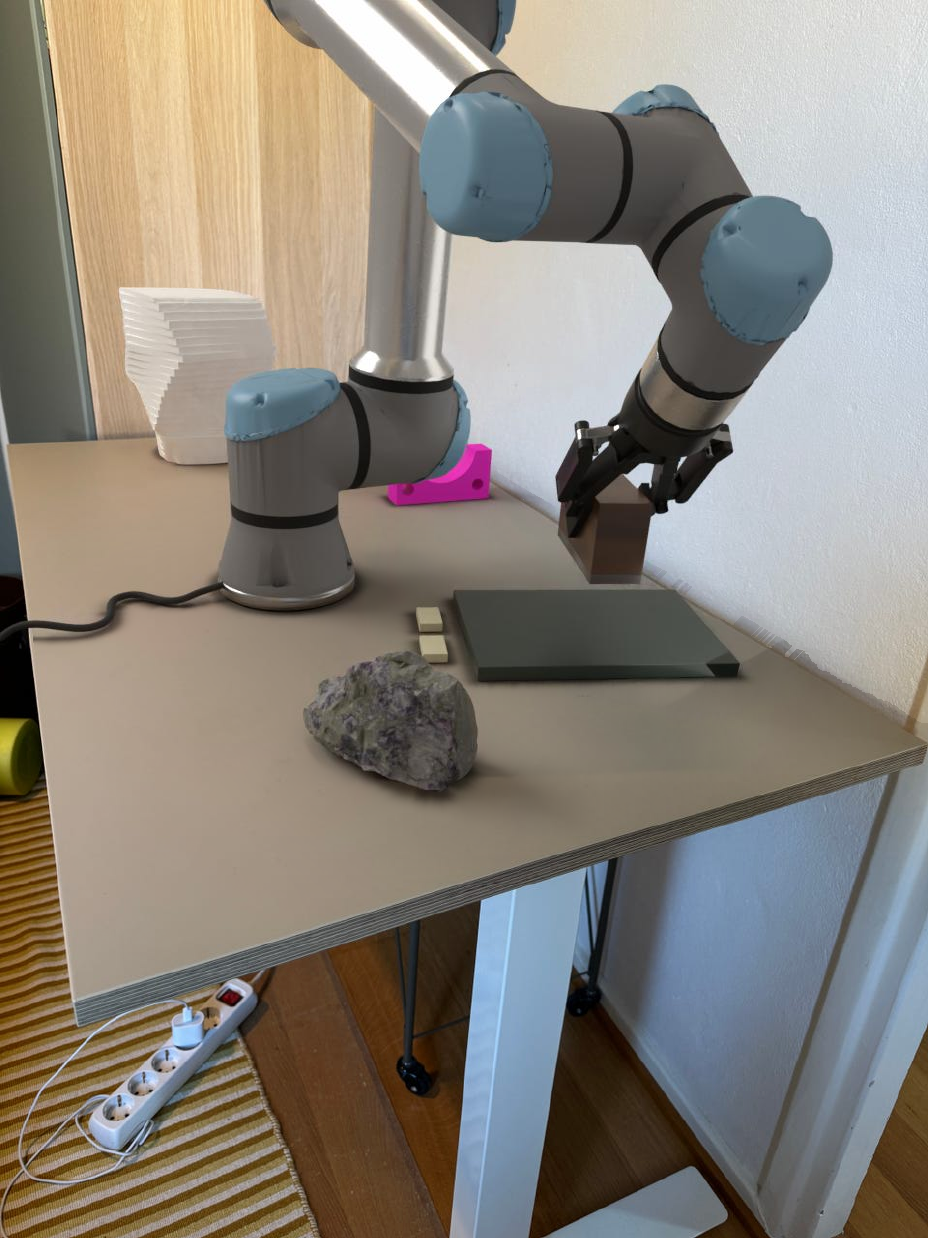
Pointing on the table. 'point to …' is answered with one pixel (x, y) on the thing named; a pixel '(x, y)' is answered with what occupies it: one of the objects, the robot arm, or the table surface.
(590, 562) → the block
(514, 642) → the slate board
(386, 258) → the robot arm
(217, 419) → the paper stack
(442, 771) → the mineral rock
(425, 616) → the cream rectangular block
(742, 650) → the table surface
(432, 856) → the table surface
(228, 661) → the table surface
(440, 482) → the toy block
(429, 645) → the cream flat block
